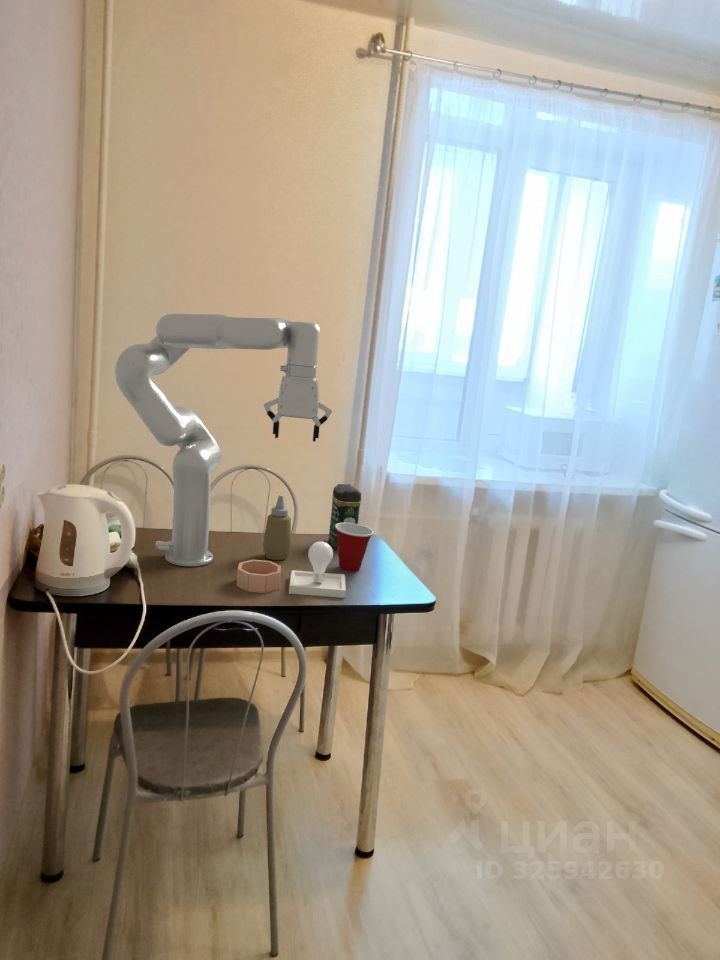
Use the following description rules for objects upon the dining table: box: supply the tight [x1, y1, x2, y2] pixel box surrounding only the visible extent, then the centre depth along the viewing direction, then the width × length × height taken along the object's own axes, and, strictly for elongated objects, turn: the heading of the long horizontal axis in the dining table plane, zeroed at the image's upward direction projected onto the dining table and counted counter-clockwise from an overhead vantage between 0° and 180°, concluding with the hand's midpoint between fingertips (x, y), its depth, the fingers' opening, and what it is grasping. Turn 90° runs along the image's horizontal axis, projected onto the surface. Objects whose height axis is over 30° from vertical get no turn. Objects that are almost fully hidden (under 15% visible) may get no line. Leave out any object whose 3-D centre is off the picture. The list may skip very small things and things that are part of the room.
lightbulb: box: [307, 541, 334, 583], centre depth 184 cm, size 6×6×11 cm
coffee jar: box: [328, 483, 362, 549], centre depth 219 cm, size 10×8×19 cm
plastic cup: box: [335, 522, 374, 573], centre depth 200 cm, size 11×11×12 cm
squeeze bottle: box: [262, 494, 292, 561], centre depth 202 cm, size 8×8×18 cm
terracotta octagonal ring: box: [236, 559, 282, 594], centre depth 183 cm, size 11×11×4 cm
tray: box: [288, 569, 347, 599], centre depth 185 cm, size 14×11×2 cm
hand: (295, 439), depth 185 cm, fingers open, 9 cm apart
